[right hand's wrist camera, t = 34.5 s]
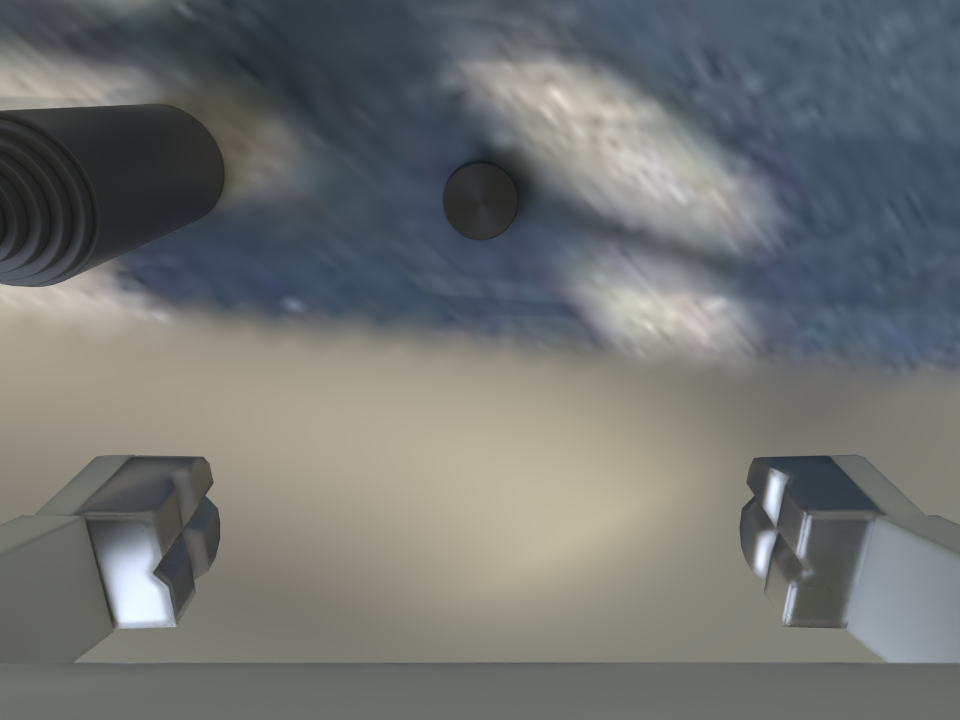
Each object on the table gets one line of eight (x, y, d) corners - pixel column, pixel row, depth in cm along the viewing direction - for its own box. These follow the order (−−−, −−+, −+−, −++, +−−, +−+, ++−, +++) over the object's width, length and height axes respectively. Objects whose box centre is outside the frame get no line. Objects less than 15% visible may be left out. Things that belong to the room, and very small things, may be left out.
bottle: (140, 77, 35) (-170, 66, 18) (246, 156, 36) (48, 212, 20) (86, 175, 36) (-241, 247, 20) (188, 246, 38) (-37, 368, 21)
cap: (437, 168, 36) (435, 171, 35) (510, 154, 36) (511, 157, 35) (451, 240, 38) (450, 246, 36) (521, 227, 38) (523, 233, 36)
